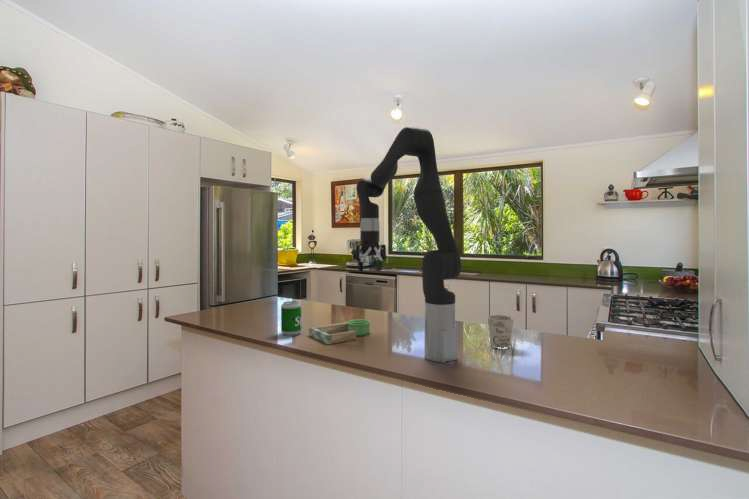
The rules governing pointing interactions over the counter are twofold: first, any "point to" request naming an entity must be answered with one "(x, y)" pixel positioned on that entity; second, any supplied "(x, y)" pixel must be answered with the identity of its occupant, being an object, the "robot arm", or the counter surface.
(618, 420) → the counter surface
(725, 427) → the counter surface
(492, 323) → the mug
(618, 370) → the counter surface
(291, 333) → the soda can
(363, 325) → the ramekin
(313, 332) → the rail pocket
